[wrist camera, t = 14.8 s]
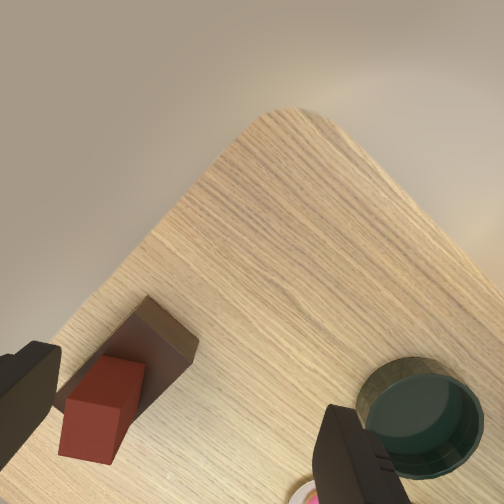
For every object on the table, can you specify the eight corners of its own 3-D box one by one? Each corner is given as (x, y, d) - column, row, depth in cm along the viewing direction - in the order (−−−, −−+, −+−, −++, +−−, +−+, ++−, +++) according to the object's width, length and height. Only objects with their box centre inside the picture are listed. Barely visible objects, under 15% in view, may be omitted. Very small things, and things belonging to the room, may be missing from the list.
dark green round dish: (373, 346, 41) (384, 362, 37) (479, 369, 41) (500, 387, 38) (343, 444, 43) (351, 467, 39) (444, 464, 43) (461, 489, 40)
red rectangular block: (102, 354, 35) (66, 398, 28) (146, 363, 35) (121, 409, 28) (94, 402, 36) (57, 455, 29) (137, 410, 36) (110, 465, 29)
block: (147, 294, 39) (133, 311, 34) (199, 340, 40) (192, 363, 35) (72, 374, 41) (47, 402, 36) (123, 416, 42) (106, 448, 37)
